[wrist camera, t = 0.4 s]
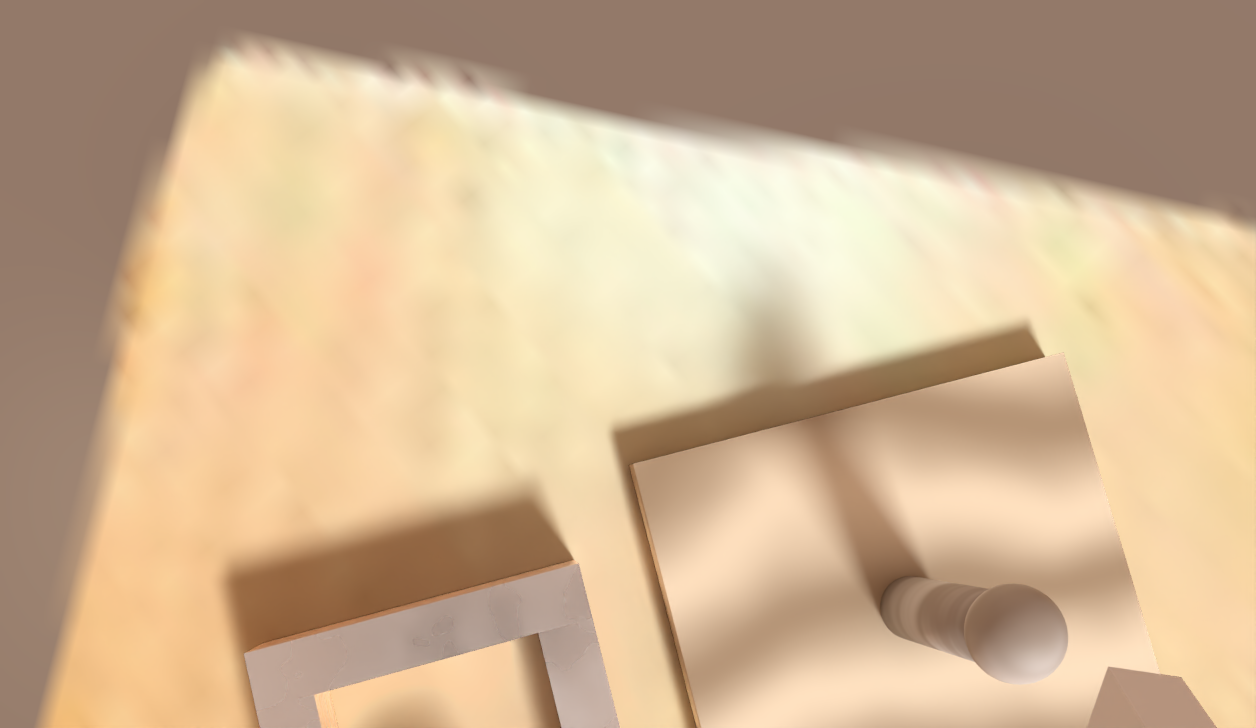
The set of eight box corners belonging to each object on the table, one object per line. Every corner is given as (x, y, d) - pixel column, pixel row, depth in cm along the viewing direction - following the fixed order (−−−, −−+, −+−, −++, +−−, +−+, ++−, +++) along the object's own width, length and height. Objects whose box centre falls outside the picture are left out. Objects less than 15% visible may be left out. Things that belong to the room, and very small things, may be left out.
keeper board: (1160, 741, 45) (1394, 824, 33) (734, 874, 42) (821, 1016, 30) (1045, 357, 46) (1230, 305, 34) (628, 465, 44) (672, 449, 32)
